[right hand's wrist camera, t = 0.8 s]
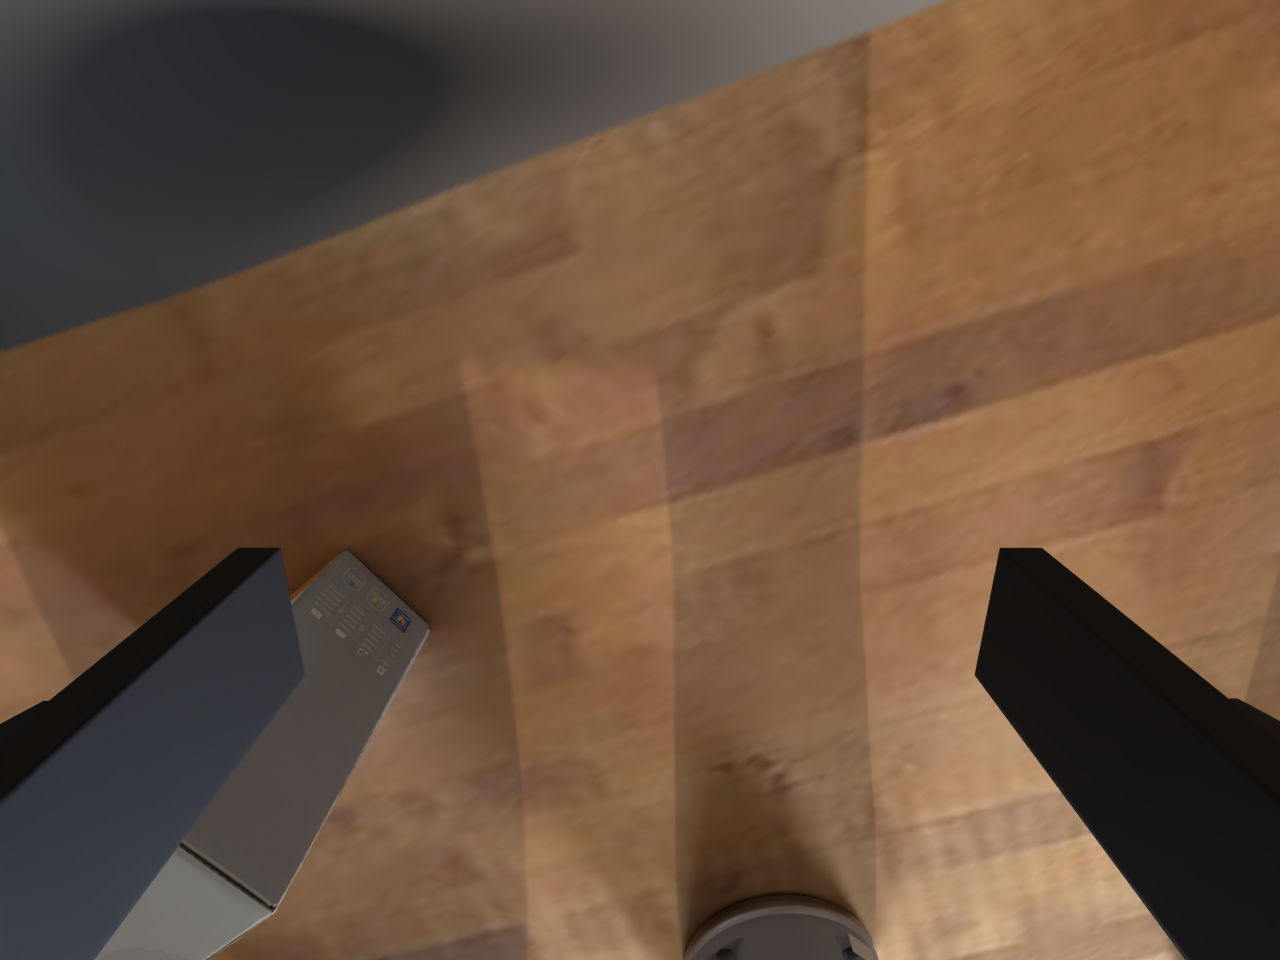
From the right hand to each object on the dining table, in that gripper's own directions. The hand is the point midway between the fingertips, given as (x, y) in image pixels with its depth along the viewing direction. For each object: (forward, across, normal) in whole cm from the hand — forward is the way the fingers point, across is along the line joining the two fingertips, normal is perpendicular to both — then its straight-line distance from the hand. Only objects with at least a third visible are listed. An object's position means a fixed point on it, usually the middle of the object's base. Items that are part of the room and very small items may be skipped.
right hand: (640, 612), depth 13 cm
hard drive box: (+28, +22, +20) cm, 40 cm away
